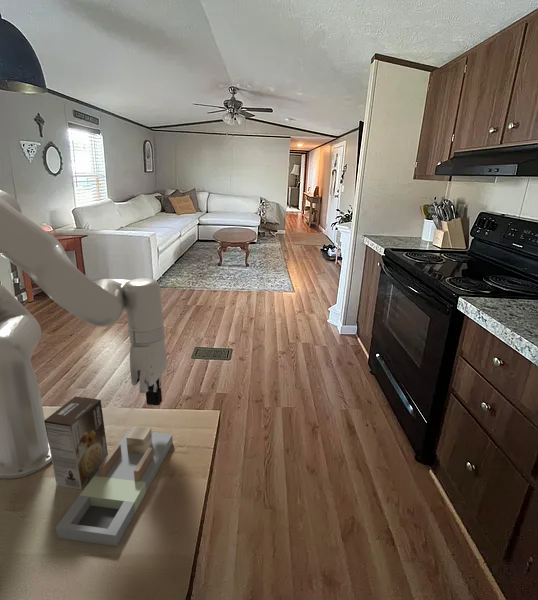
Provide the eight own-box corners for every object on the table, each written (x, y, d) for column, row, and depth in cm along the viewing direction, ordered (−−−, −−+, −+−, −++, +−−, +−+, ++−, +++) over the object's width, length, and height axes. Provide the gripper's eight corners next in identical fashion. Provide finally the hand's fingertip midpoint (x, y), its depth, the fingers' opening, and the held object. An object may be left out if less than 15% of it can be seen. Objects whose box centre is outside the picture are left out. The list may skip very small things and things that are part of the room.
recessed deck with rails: (57, 537, 66) (53, 516, 65) (129, 438, 92) (127, 421, 90) (116, 546, 65) (114, 524, 63) (172, 443, 91) (171, 425, 89)
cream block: (127, 452, 83) (126, 437, 82) (135, 440, 87) (134, 426, 86) (144, 454, 83) (143, 439, 82) (152, 442, 87) (151, 428, 86)
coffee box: (84, 455, 86) (75, 394, 81) (109, 460, 84) (102, 398, 79) (54, 485, 77) (43, 419, 72) (82, 491, 76) (72, 424, 71)
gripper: (145, 320, 91) (152, 385, 97) (114, 346, 77) (125, 421, 83) (174, 321, 91) (180, 387, 96) (149, 348, 77) (157, 423, 82)
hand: (154, 403), depth 90 cm, fingers closed
